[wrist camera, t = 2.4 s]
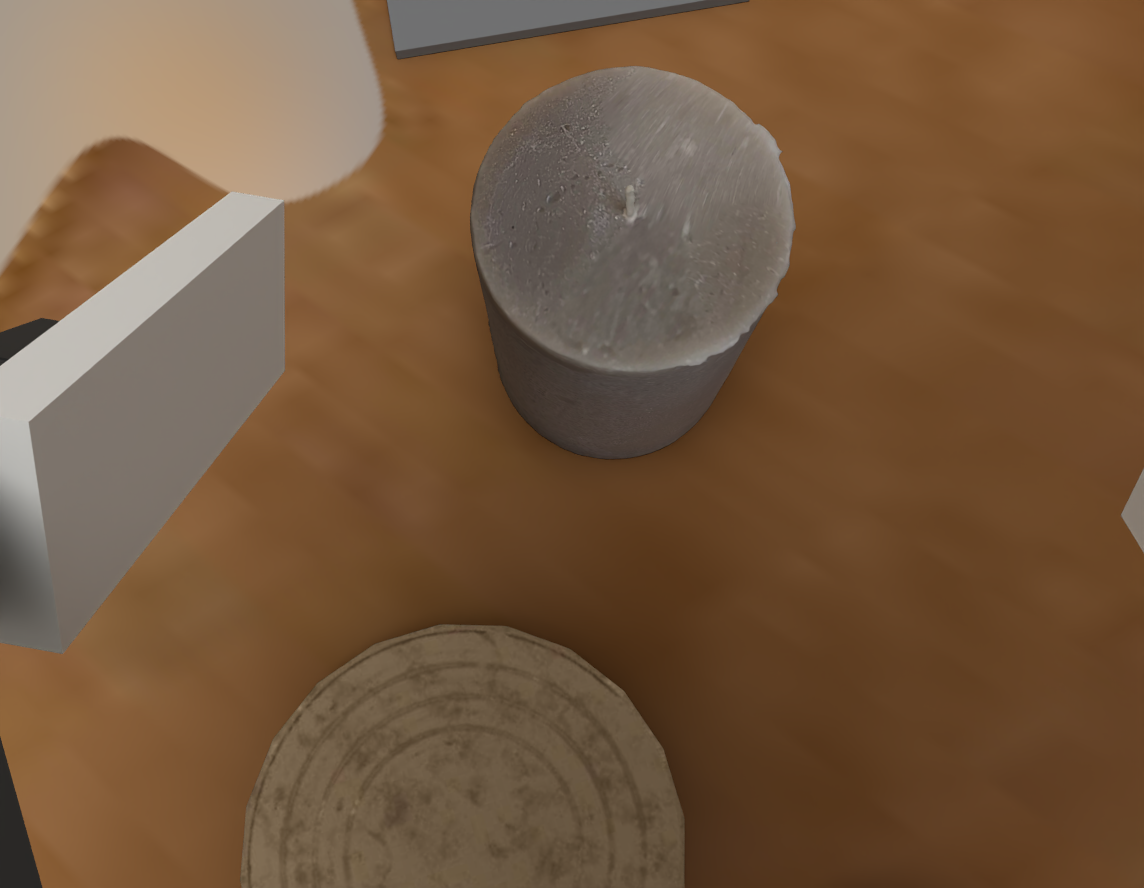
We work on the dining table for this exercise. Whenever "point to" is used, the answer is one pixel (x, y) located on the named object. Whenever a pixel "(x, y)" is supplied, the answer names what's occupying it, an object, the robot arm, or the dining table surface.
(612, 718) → the wood log slice
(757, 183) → the pillar candle
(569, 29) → the mat
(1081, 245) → the dining table surface
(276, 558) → the dining table surface
